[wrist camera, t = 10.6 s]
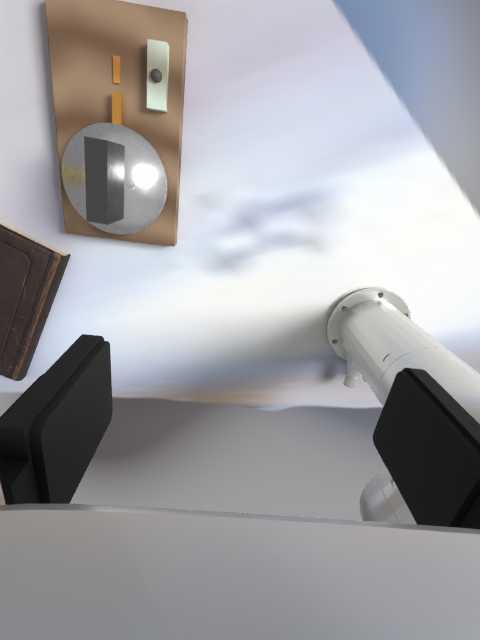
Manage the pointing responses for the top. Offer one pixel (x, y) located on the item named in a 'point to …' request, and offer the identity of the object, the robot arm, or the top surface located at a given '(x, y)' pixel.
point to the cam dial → (114, 175)
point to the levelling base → (120, 88)
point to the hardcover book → (25, 296)
